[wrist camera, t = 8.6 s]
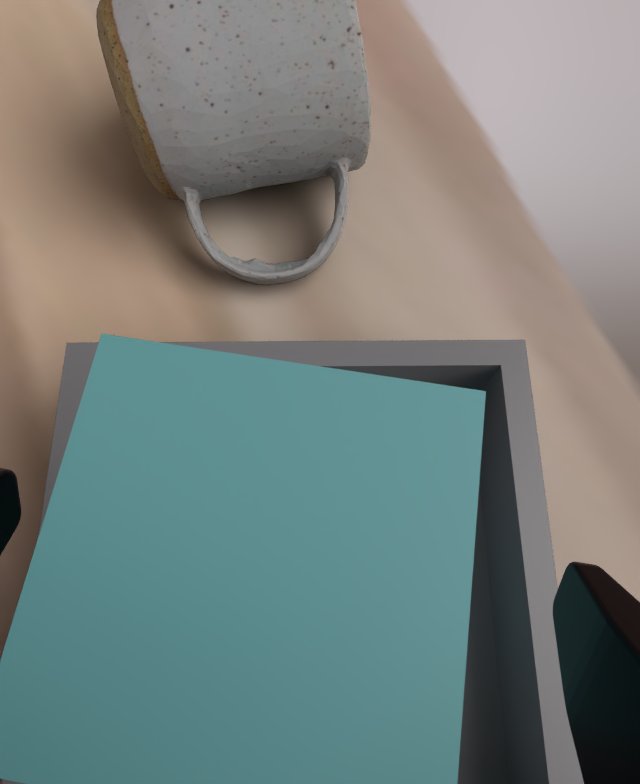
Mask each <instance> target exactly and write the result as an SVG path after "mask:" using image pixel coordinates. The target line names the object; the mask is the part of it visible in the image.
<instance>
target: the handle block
mask: <svg viewBox="0 0 640 784" xmlns="http://www.w3.org/2000/svg"><path fill="white" fill-rule="evenodd" d="M485 398H486V391H481V390H474V389H468V388H461V387H454V386H448V385H441V384H434V383H428V382H421V381H414V380H408V379H401V378H394V377H388V376H381V375H374V374H368V373H361V372H354V371H347V370H341V369H334V368H327V367H321V366H314V365H307V364H301V363H294V362H287V361H281V360H274V359H267V358H261V357H254V356H247V355H241V354H234V353H227V352H220V351H214V350H207V349H200V348H194V347H187V346H180V345H174V344H167V343H160V342H154V341H147V340H140V339H134V338H127V337H120V336H114V335H107V334H101V337H100V340H99V344H98V347H97V350H96V353H95V356H94V360H93V363H92V366H91V369H90V373H89V376H88V379H87V382H86V385H85V389H84V392H83V395H82V398H81V402H80V405H79V408H78V411H77V415H76V418H75V421H74V424H73V427H72V431H71V434H70V437H69V440H68V444H67V447H66V450H65V453H64V456H63V460H62V463H61V466H60V469H59V473H58V476H57V479H56V482H55V485H54V489H53V492H52V495H51V498H50V502H49V505H48V508H47V511H46V514H45V518H44V521H43V524H42V527H41V531H40V534H39V537H38V540H37V543H36V547H35V550H34V553H33V556H32V560H31V563H30V566H29V569H28V572H27V576H26V579H25V582H24V585H23V589H22V592H21V595H20V598H19V602H18V605H17V608H16V611H15V614H14V618H13V621H12V624H11V627H10V631H9V634H8V637H7V640H6V643H5V647H4V650H3V653H2V656H1V660H0V779H4V780H9V781H15V782H20V783H25V784H457V781H458V768H459V754H460V740H461V727H462V713H463V699H464V685H465V672H466V658H467V644H468V631H469V617H470V603H471V590H472V576H473V562H474V549H475V535H476V521H477V507H478V494H479V480H480V466H481V453H482V439H483V425H484V412H485Z"/></svg>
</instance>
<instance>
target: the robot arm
mask: <svg viewBox="0 0 640 784" xmlns="http://www.w3.org/2000/svg"><path fill="white" fill-rule="evenodd" d="M20 517H21V505H20V498H19V491H18V484H17V478H16V475H15V473H14V472H13V471H11V470H9V469H3V468H0V555H1V553H2V551H3V550H4V548H5V546H6V545H7V543H8V541H9V539H10V538H11V536H12V534H13V533H14V531H15V529H16V527H17V525H18V523H19V521H20ZM553 621H554V629H555V636H556V643H557V650H558V658H559V665H560V672H561V679H562V687H563V694H564V700H565V706H566V712H567V716H568V721H569V725H570V729H571V733H572V737H573V741H574V745H575V749H576V753H577V757H578V761H579V765H580V769H581V773H582V777H583V781H584V784H640V602H639V601H638V600H637V599H635V598H634V597H633V596H632V595H631V594H630V593H629V592H628V591H626V590H625V589H624V588H623V587H622V586H621V585H620V584H619V583H617V582H616V581H615V580H614V579H613V578H612V577H611V576H610V575H608V574H607V573H606V572H605V571H604V570H603V569H602V568H600V567H599V566H597V565H592V564H586V563H580V562H572V563H570V564H569V565H568V566H567V568H566V570H565V573H564V575H563V578H562V580H561V583H560V585H559V588H558V590H557V593H556V596H555V598H554V602H553Z"/></svg>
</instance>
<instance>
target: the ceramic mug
mask: <svg viewBox="0 0 640 784" xmlns="http://www.w3.org/2000/svg"><path fill="white" fill-rule="evenodd" d="M96 17H97V28H98V36H99V40H100V44H101V48H102V52H103V56H104V60H105V63H106V67H107V70H108V74H109V78H110V81H111V84H112V87H113V91H114V94H115V97H116V100H117V103H118V106H119V109H120V113H121V115H122V118H123V121H124V123H125V126H126V129H127V132H128V134H129V137H130V140H131V142H132V145H133V147H134V150H135V152H136V154H137V157H138V159H139V161H140V164H141V166H142V168H143V170H144V172H145V174H146V175H147V177H148V179H149V181H150V182H151V183H152V184H153V186H154V187H155V188H156V189H157V190H158V191H159V192H161V193H162V194H164V195H165V196H167V197H168V198H171V199H183V200H184V201H185V206H186V210H187V214H188V218H189V221H190V224H191V226H192V228H193V230H194V232H195V235H196V236H197V238H198V240H199V242H200V244H201V245H202V247H203V248H204V250H205V251H206V252H207V254H208V255H209V256H210V258H211V259H212V260H213V261H214V262H215V263H216V264H217V265H218V266H219V267H221V268H222V269H223V270H225V271H226V272H227V273H229V274H231V275H233V276H235V277H237V278H239V279H242V280H246V281H249V282H253V283H257V284H278V283H286V282H290V281H293V280H296V279H299V278H302V277H304V276H306V275H308V274H309V273H311V272H312V271H314V270H315V269H317V268H318V267H319V266H320V265H321V264H323V263H324V262H325V261H326V260H327V258H328V257H329V255H330V254H331V252H332V251H333V249H334V247H335V245H336V244H337V242H338V240H339V238H340V235H341V233H342V230H343V227H344V223H345V220H346V216H347V208H348V173H347V172H349V171H352V170H356V169H359V168H360V167H362V166H363V164H364V163H365V160H366V157H367V154H368V148H369V142H370V133H371V124H370V114H371V108H370V96H369V86H368V74H367V69H366V58H365V52H364V46H363V39H362V33H361V29H360V25H359V19H358V13H357V7H356V2H355V0H100V1H99V5H98V8H97V16H96ZM328 175H330V176H332V177H333V180H334V183H335V213H334V220H333V223H332V226H331V228H330V229H329V231H328V232H327V234H326V236H325V238H324V240H323V242H321V243H319V245H318V247H317V249H316V251H315V252H314V253H313V255H312V256H311V257H309V258H307V259H304V260H300V261H294V262H286V263H278V264H267V263H264V262H262V261H259V260H257V259H252V260H249V261H242V260H240V259H238V258H235V257H229V256H227V255H226V254H225V253H224V252H223V251H222V250H221V249H220V248H219V247H218V246H217V245H216V244H215V243H214V242H213V240H212V239H211V238H210V236H209V234H208V232H207V229H206V227H205V225H204V223H203V220H202V215H201V211H200V206H199V204H200V201H201V200H204V199H210V198H214V197H218V196H224V195H231V194H235V193H238V192H241V191H245V190H249V189H253V188H258V187H263V186H270V185H278V184H283V183H291V182H297V181H301V180H307V179H314V178H317V177H323V176H328Z"/></svg>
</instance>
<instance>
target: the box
mask: <svg viewBox="0 0 640 784" xmlns="http://www.w3.org/2000/svg"><path fill="white" fill-rule="evenodd" d="M160 343H167V344H174V345H180V346H187V347H194V348H200V349H207V350H214V351H220V352H227V353H234V354H241V355H247V356H254V357H261V358H267V359H274V360H281V361H287V362H294V363H301V364H307V365H314V366H321V367H327V368H334V369H341V370H347V371H354V372H361V373H368V374H374V375H381V376H388V377H394V378H401V379H408V380H414V381H421V382H428V383H434V384H441V385H448V386H454V387H461V388H468V389H474V390H481V391H486V398H485V412H484V425H483V439H482V453H481V466H480V480H479V494H478V507H477V521H476V535H475V549H474V562H473V576H472V590H471V603H470V617H469V631H468V644H467V658H466V672H465V685H464V699H463V713H462V727H461V740H460V754H459V768H458V781H457V784H583V777H582V773H581V769H580V765H579V761H578V757H577V753H576V749H575V745H574V741H573V737H572V733H571V729H570V725H569V721H568V716H567V712H566V706H565V700H564V694H563V687H562V679H561V672H560V665H559V658H558V650H557V643H556V636H555V629H554V621H553V602H554V598H555V596H556V593H557V590H558V587H557V579H556V571H555V564H554V556H553V549H552V541H551V533H550V526H549V518H548V511H547V503H546V495H545V488H544V480H543V472H542V465H541V457H540V450H539V442H538V434H537V427H536V419H535V412H534V404H533V396H532V389H531V381H530V374H529V366H528V358H527V351H526V343H525V340H422V341H268V342H160ZM98 344H99V343H67V345H66V352H65V359H64V366H63V372H62V379H61V386H60V393H59V400H58V406H57V413H56V420H55V427H54V433H53V440H52V447H51V454H50V461H49V467H48V474H47V481H46V488H45V495H44V501H43V508H42V515H41V522H40V528H39V534H40V531H41V527H42V524H43V521H44V518H45V514H46V511H47V508H48V505H49V502H50V498H51V495H52V492H53V489H54V485H55V482H56V479H57V476H58V473H59V469H60V466H61V463H62V460H63V456H64V453H65V450H66V447H67V444H68V440H69V437H70V434H71V431H72V427H73V424H74V421H75V418H76V415H77V411H78V408H79V405H80V402H81V398H82V395H83V392H84V389H85V385H86V382H87V379H88V376H89V373H90V369H91V366H92V363H93V360H94V356H95V353H96V350H97V347H98ZM38 537H39V535H38ZM2 784H25V783H20V782H15V781H9V780H4V779H3V780H2Z"/></svg>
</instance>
